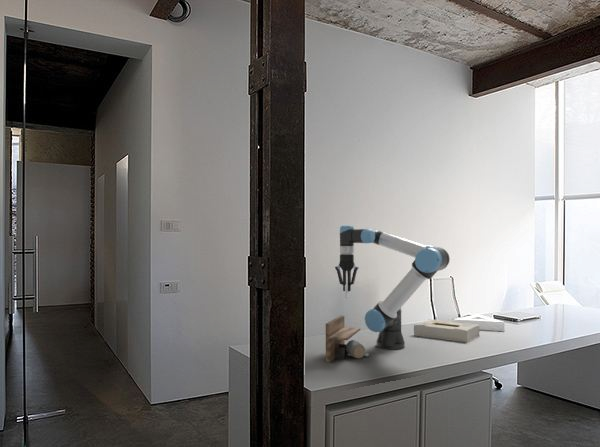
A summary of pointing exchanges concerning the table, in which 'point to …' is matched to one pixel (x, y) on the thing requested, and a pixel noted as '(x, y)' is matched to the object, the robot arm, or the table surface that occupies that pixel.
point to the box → (447, 330)
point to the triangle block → (483, 322)
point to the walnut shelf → (337, 338)
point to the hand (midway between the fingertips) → (346, 297)
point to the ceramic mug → (356, 349)
